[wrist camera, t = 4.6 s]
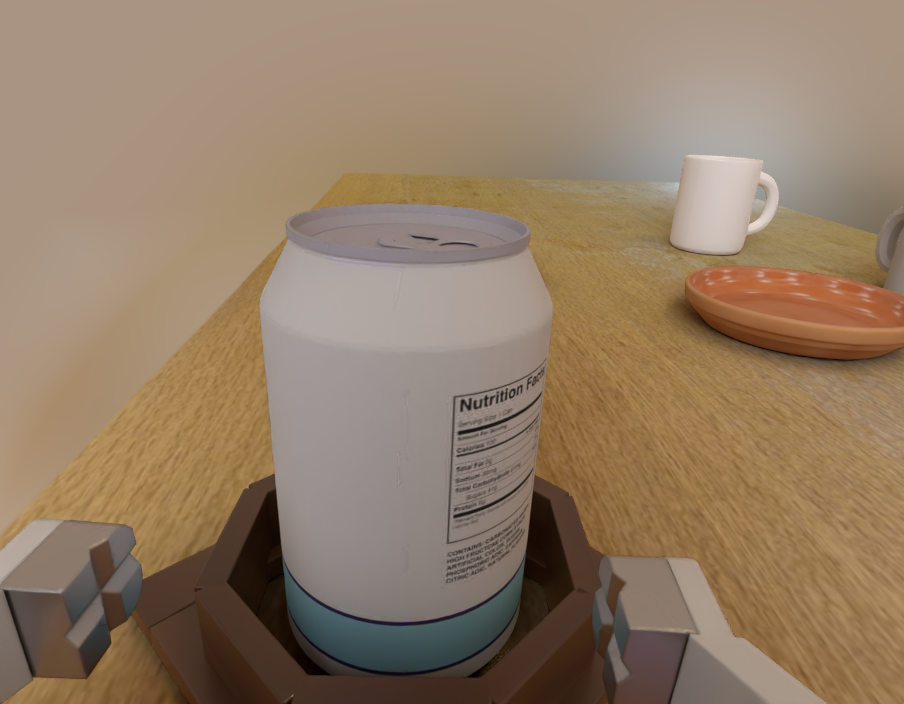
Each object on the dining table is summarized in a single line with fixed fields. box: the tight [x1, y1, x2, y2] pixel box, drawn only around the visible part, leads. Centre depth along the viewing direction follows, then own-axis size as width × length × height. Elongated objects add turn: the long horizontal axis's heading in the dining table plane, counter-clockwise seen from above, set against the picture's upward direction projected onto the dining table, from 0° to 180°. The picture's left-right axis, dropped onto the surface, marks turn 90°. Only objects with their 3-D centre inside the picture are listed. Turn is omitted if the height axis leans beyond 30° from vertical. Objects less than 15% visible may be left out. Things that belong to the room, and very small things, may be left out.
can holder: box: [131, 474, 608, 704], centre depth 18 cm, size 12×12×3 cm
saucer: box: [685, 266, 904, 359], centre depth 44 cm, size 16×16×3 cm
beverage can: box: [260, 204, 553, 677], centre depth 16 cm, size 7×7×12 cm
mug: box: [670, 155, 779, 255], centre depth 69 cm, size 12×8×10 cm
